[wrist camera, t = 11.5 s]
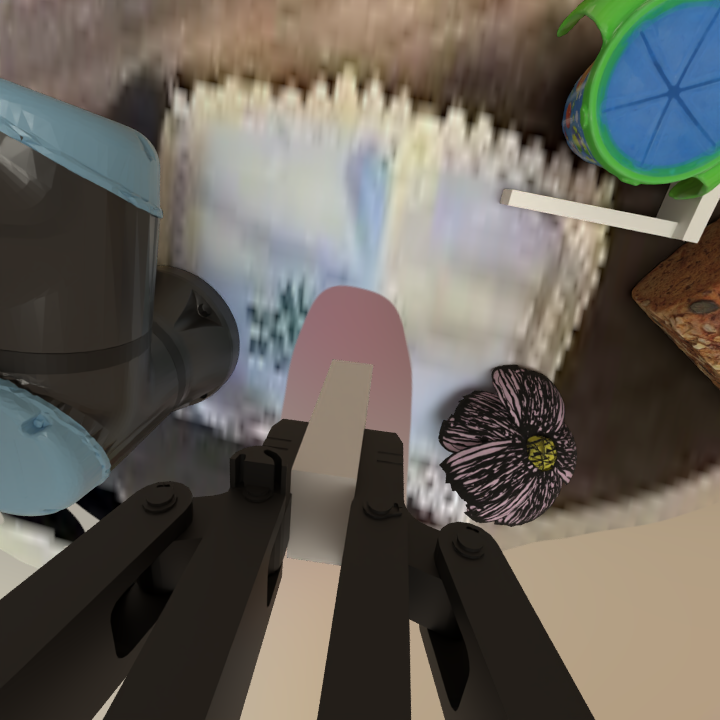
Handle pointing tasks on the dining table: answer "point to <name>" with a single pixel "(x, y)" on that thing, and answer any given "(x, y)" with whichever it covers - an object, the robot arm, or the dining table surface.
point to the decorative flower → (509, 448)
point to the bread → (688, 300)
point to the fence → (671, 220)
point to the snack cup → (650, 93)
